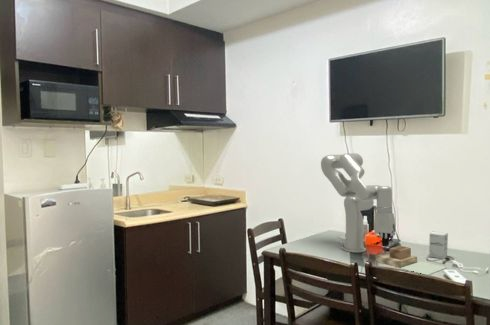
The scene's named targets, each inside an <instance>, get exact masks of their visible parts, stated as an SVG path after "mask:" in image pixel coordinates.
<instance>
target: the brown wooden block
mask: <svg viewBox="0 0 490 325" xmlns="http://www.w3.org/2000/svg"><path fill="white" fill-rule="evenodd" d="M389 252H390V257H391V258H395V259H399V260H402V259H405V258H408V257H411V255H412V253H411V252H412V249H411V247H409V246H408V247H407V246H405V245H404V246H403V245H396V246H394V247H390V248H389Z"/></svg>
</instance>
